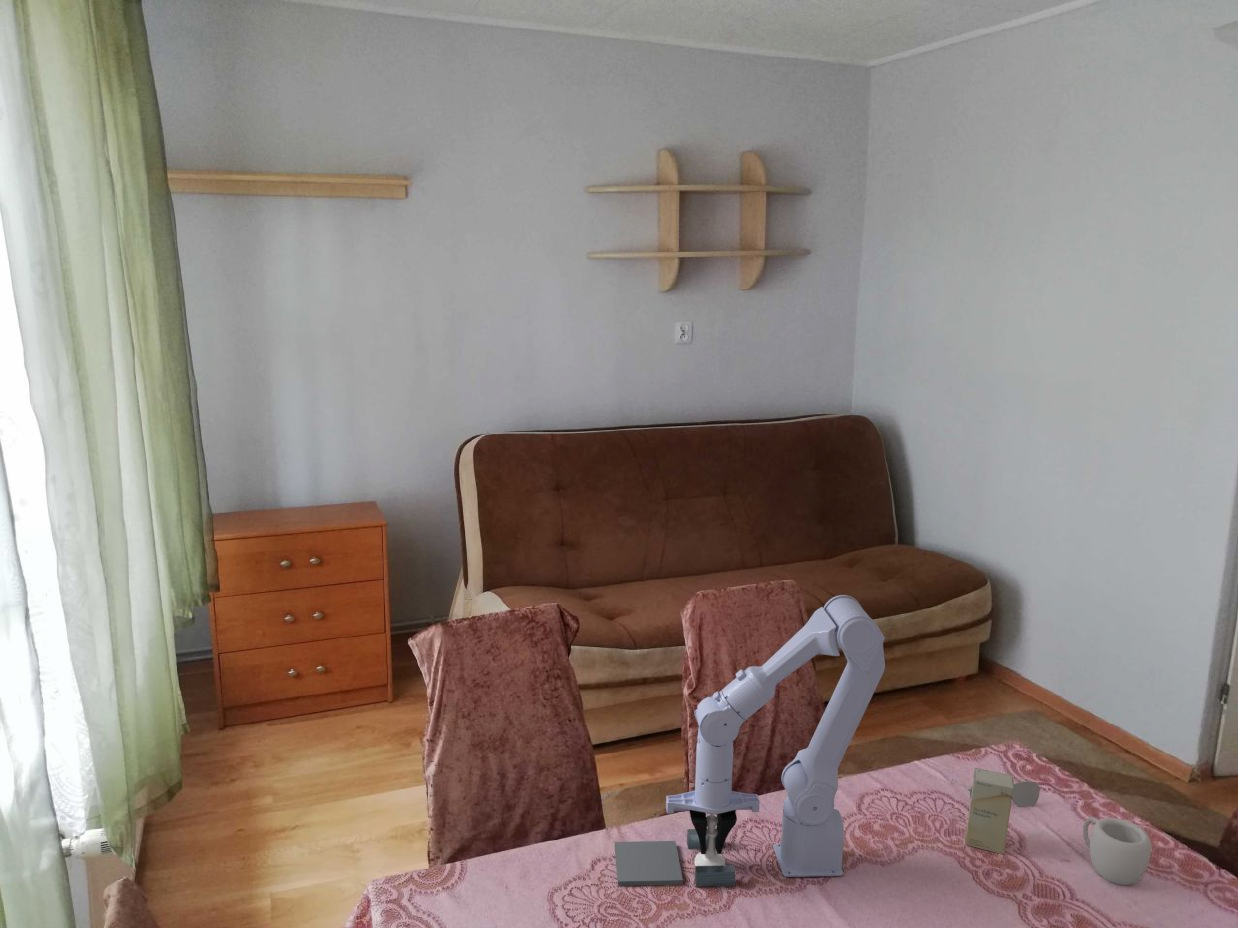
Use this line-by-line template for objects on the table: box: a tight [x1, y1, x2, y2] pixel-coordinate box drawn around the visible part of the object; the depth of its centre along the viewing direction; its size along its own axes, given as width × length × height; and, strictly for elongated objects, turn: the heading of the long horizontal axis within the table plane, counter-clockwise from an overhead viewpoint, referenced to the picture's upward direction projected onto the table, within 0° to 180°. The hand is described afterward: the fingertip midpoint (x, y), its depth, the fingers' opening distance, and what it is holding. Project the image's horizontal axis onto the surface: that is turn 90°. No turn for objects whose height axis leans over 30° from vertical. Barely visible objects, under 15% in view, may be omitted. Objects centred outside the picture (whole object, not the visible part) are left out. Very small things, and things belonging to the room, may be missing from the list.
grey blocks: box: [686, 828, 736, 888], centre depth 152 cm, size 6×13×2 cm, turn 3°
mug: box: [1082, 816, 1152, 886], centre depth 151 cm, size 12×8×8 cm
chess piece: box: [694, 813, 726, 867], centre depth 150 cm, size 5×5×10 cm
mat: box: [614, 840, 684, 887], centre depth 151 cm, size 10×10×1 cm
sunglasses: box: [950, 776, 1043, 808], centre depth 173 cm, size 14×8×5 cm, turn 94°
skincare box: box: [965, 767, 1015, 855], centre depth 157 cm, size 6×4×12 cm
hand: (710, 850), depth 151 cm, fingers closed on chess piece
